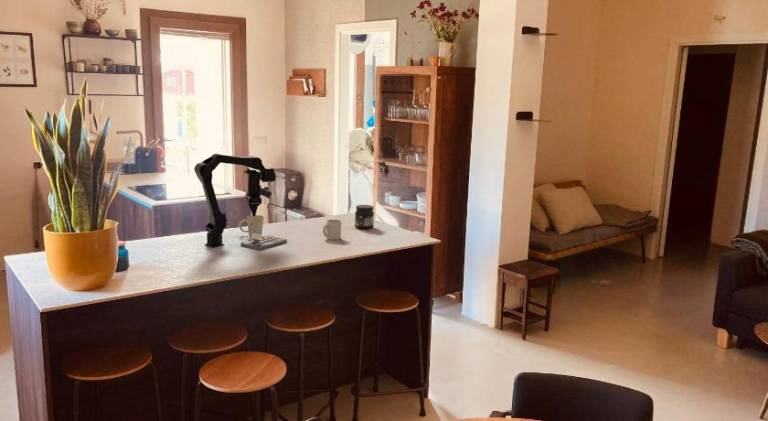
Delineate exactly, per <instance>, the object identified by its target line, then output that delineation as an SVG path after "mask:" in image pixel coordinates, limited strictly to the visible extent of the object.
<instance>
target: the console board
mask: <svg viewBox="0 0 768 421" xmlns="http://www.w3.org/2000/svg"><path fill="white" fill-rule="evenodd" d="M286 243H288V239H287V238H283V237H278V236H273V235H269V234H268V235H264V236H262V239H260V240H259V242H258V243H254V239H253V238H252V239H250V240H245V241H242V242H240V246H241V247H243V248H249V249H252V250H258V251H261V250H264V249H269V248H272V247H275V246H279V245H282V244H286Z"/></svg>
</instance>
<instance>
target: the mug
mask: <svg viewBox="0 0 768 421" xmlns="http://www.w3.org/2000/svg"><path fill="white" fill-rule="evenodd" d="M264 217H265V216H264V215H261V214H260V215H259V214H256V215H255V217H253V215H252V214H251V215H247V216H246V218H244V219H241V220H240V221H239V223H238V228H239V230H240V231H241V232H243V233H248V236H249V238H252V233H259V234H262V233H263V227H264V226H263V225H264V221H265V220H264ZM243 223H247V230H244V229H243V227H242V224H243ZM262 235H263V234H262Z"/></svg>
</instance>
